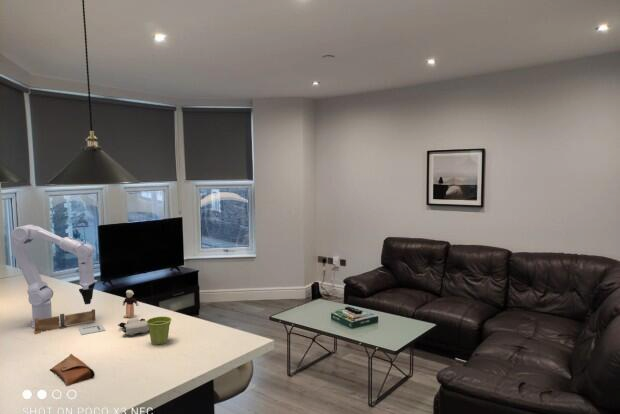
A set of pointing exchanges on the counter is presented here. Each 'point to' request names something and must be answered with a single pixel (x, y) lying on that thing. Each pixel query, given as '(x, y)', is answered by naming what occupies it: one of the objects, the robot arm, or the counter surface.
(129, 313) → the grandmother figurine
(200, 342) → the counter surface
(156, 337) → the plant pot
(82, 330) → the card
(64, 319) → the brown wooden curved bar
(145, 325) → the robot toy
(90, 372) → the sunglasses case
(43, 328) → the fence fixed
